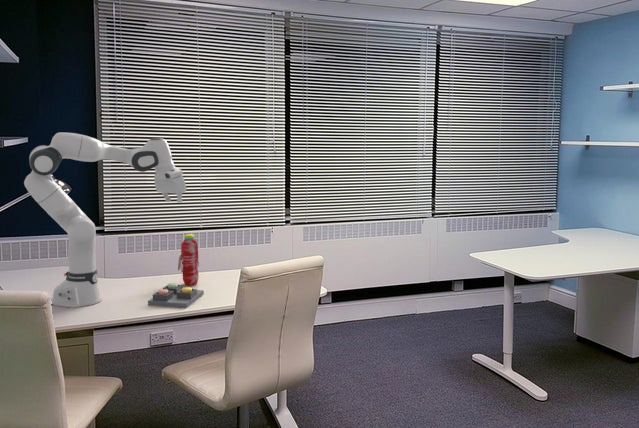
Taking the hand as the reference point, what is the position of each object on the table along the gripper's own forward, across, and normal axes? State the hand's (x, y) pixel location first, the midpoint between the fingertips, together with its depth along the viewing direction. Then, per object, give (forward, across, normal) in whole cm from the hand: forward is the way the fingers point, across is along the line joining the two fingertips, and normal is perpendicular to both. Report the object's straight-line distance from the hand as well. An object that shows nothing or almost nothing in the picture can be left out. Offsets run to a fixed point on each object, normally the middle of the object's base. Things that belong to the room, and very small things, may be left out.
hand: (174, 201), depth 271 cm
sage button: (+38, 0, -13) cm, 40 cm away
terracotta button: (+36, +6, -21) cm, 43 cm away
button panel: (+41, +6, -16) cm, 45 cm away
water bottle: (+44, -12, +2) cm, 46 cm away
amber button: (+39, +10, -13) cm, 42 cm away
